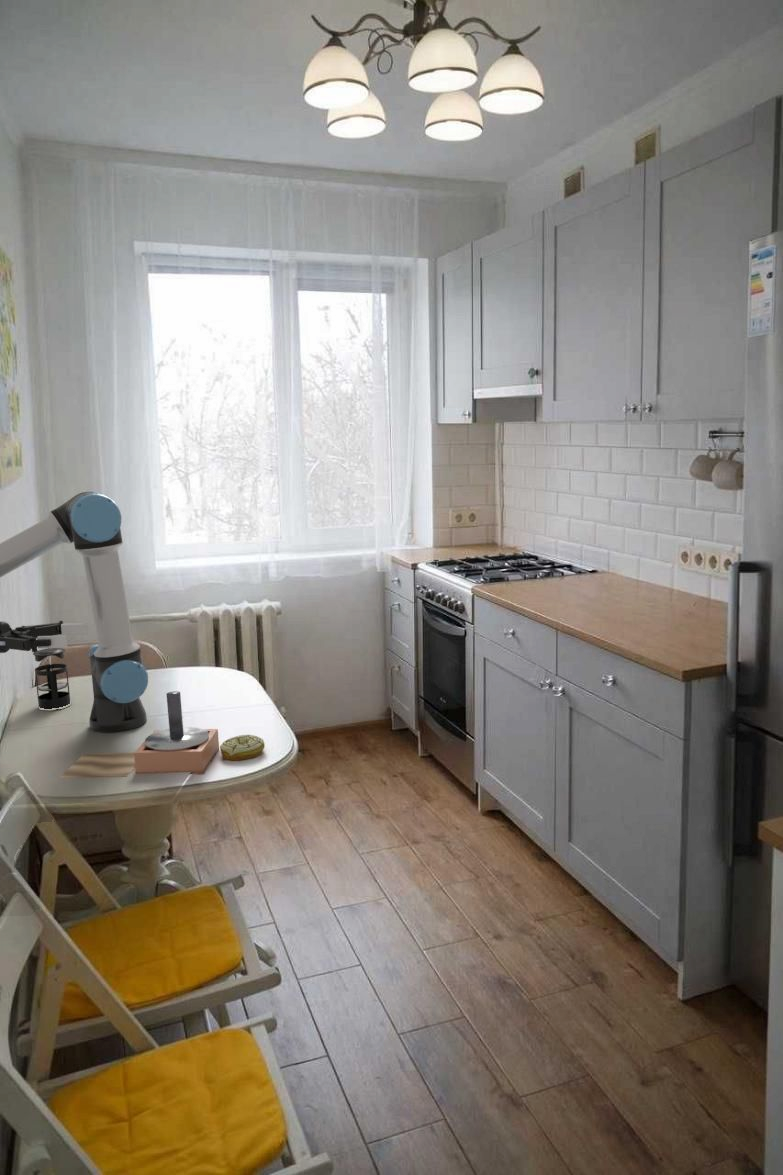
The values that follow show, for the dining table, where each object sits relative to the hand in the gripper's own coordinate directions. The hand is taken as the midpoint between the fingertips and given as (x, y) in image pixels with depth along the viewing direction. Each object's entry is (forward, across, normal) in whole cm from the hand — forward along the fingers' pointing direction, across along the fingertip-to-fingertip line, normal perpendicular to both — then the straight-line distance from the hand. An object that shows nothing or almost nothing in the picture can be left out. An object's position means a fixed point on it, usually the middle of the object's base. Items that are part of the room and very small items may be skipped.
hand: (77, 634), depth 212 cm
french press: (-29, -49, -32) cm, 66 cm away
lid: (+22, +1, -26) cm, 35 cm away
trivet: (+5, +3, -32) cm, 32 cm away
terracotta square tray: (+22, +1, -32) cm, 39 cm away
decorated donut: (+37, -4, -32) cm, 49 cm away
